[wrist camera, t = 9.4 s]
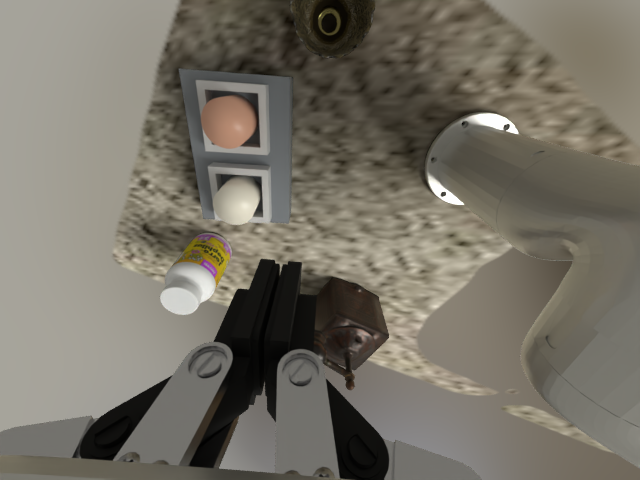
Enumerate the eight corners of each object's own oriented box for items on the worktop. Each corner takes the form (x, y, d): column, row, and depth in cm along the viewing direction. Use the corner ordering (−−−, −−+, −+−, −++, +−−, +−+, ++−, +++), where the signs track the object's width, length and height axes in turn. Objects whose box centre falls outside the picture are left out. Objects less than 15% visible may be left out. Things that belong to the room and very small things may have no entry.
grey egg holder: (292, 77, 34) (288, 77, 28) (291, 211, 43) (287, 230, 37) (193, 69, 33) (170, 68, 28) (212, 207, 42) (198, 225, 37)
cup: (367, 51, 32) (381, 44, 25) (307, 70, 33) (304, 68, 26) (354, -32, 29) (366, -67, 22) (287, -8, 30) (278, -35, 23)
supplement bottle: (240, 245, 46) (215, 298, 35) (221, 270, 48) (193, 327, 37) (202, 223, 44) (163, 272, 32) (185, 251, 46) (143, 305, 35)
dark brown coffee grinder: (382, 294, 51) (410, 387, 36) (350, 330, 56) (363, 426, 41) (309, 261, 47) (306, 349, 32) (281, 302, 52) (267, 397, 37)
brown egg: (257, 96, 31) (247, 99, 26) (259, 140, 33) (250, 150, 29) (214, 93, 31) (197, 95, 26) (219, 138, 33) (204, 147, 29)
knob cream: (261, 174, 35) (253, 188, 31) (262, 209, 38) (255, 226, 33) (223, 172, 35) (210, 185, 31) (227, 207, 38) (215, 223, 33)
